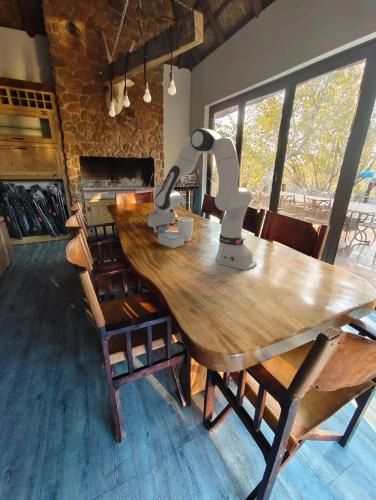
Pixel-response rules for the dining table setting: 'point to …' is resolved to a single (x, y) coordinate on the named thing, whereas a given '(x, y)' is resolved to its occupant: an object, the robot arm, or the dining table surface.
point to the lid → (169, 234)
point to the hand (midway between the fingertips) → (161, 231)
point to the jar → (185, 227)
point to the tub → (170, 242)
